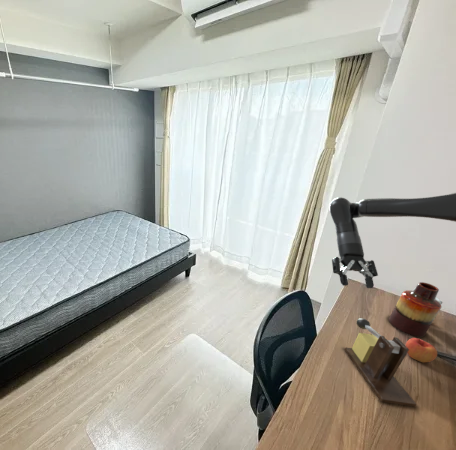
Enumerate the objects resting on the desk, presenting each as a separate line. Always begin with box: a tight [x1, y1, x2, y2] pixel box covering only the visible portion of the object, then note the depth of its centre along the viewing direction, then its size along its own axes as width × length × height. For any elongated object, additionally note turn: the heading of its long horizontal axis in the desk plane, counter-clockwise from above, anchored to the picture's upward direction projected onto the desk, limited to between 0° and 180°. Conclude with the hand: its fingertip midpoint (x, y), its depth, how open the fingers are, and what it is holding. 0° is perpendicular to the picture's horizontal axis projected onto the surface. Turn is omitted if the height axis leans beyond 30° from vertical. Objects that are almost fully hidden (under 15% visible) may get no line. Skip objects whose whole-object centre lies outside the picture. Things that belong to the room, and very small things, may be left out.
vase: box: [388, 281, 442, 338], centre depth 96 cm, size 11×11×20 cm
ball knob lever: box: [356, 317, 400, 354], centre depth 80 cm, size 15×4×4 cm, turn 173°
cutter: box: [344, 335, 417, 407], centre depth 76 cm, size 18×9×15 cm, turn 173°
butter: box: [352, 332, 378, 363], centre depth 82 cm, size 5×6×8 cm
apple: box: [405, 337, 438, 363], centre depth 84 cm, size 7×7×8 cm
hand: (357, 286), depth 90 cm, fingers open, 8 cm apart
